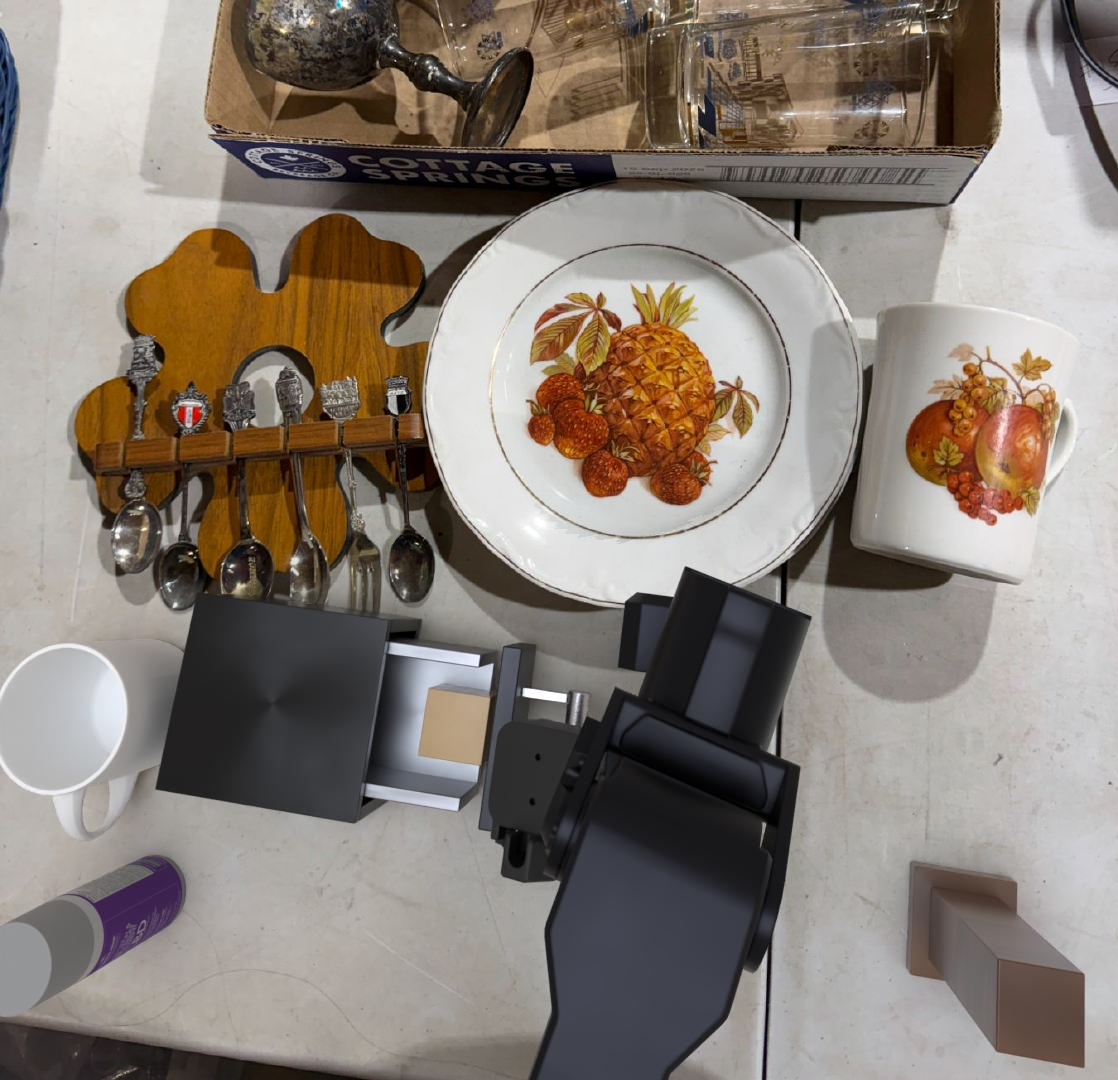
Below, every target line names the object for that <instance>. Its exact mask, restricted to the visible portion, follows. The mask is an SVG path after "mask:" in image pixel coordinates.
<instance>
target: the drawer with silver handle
mask: <svg viewBox="0 0 1118 1080" xmlns="http://www.w3.org/2000/svg"><path fill="white" fill-rule="evenodd" d="M498 653H499V651H498V650H497V649H490V648H484V647H477V646H470V645H462V644H455V643H449V642H441V641H434V640H430V639H429V640H427V639H423V638H422V639H421V638H419V639H415V638H408V637H401V636H394V635H389V641H388V648H387V654H386V660H385V666H384V672H383V678H382V684H381V690H380V696H379V702H378V708H377V714H376V720H375V726H374V733H373V739H372V745H371V751H370V757H369V763H368V769H367V775H366V781H365V787H364V793H363V797H369V798H375V799H381V800H387V801H388V802H394V803H400V804H406V805H412V806H417V807H422V808H423V807H424V808H430V809H435V810H440V811H441V810H442V811H447V812H453V813H459V812H460V811H462V809H463V808H464V807H466V806H467V805H468V804H469V803H470V802H471V801H472V800H473V799H474V798H475V797H476V796H477V795H478V794H479V791H480V784H481V777H482V769H483V765H481V766H478V765H472V764H466V763H460V762H454V761H447V760H441V759H435V758H429V757H423V756H418V752H419V745H420V739H421V733H422V726H423V720H424V713H425V707H426V700H427V694H428V688H430V687H433V686H437V685H440V684H450V685H456V686H463V687H469V688H476V689H483V690H489V691H494V684H495V676H496V668H497V661H498ZM536 653H537V644H535V643H527V642H521V641H520V642H516V643H511V644H507V645H503V646H502V652H501V658H500V666H499V674H498V680H497V688H496V692H497V694H496V702H495V709H494V716H493V723H492V731H491V738H490V745H489V752H488V760H487V761H486V767H485V768H486V769H485V775H484V783H483V790H482V797H481V803H480V804H481V805H480V811H479V818H478V825H477V828H478V830H479V831H484V832H490V833H491V831H492V823H493V819H492V817H491V815H490V813H489V808H488V800H489V792H490V784H491V777H492V770H493V763H494V755H495V748H496V741H497V736H498V733H499V731H500V729H501V728H502V727H503V726H504V725H505V724H506V723H508V722H511V721H521V720H528V716H529V707H530V700H531V699H533V700H537V701H545V702H552V703H558V704H564V705H565V704H566V710H565V719H564V723H566V724H571V725H576V726H581V727H582V726H583V723H584V721H585V718H586V716H589V714H590V709H591V708H590V705H591V697H592V693H590V692H589V691H584V690H578V689H569V690H568V692H564V691H557V690H551V689H545V688H537V687H532V685H533V677H534V668H535V661H536ZM589 717H590V716H589Z"/></svg>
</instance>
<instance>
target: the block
mask: <svg viewBox="0 0 1118 1080" xmlns="http://www.w3.org/2000/svg"><path fill="white" fill-rule="evenodd" d="M496 694H497V690H496V691H495V690H493V691H489V690H483V689H476V688H469V687H463V686H456V685H450V684H440V685H437V686H433V687H430V688H428V694H427V700H426V707H425V713H424V720H423V726H422V733H421V739H420V745H419V752H418V756H423V757H429V758H435V759H441V760H447V761H454V762H460V763H466V764H472V765H478V766H481V765H482V766H483V765H484V764H485V763H487V760H488V752H489V745H490V738H491V731H492V723H493V716H494V709H495V702H496Z"/></svg>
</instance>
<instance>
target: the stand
mask: <svg viewBox="0 0 1118 1080" xmlns="http://www.w3.org/2000/svg"><path fill="white" fill-rule="evenodd" d="M909 869H910V870H909V890H908V891H909V892H908V916H907V917H908V919H907V940H906V943H907V945H906V966H905V967H906V971H908V973H909V974H910V976H913V977H914V976H915V977H920V978H925V979H931V980H936V981H942V982H945V984H947V986H948V988H949V989H950V990H951V992H952V993H953V994H954V996H955V997H956V998H957V1000H958V1001H959V1002H960V1004H961V1005H962V1007H963V1008H964V1010H965V1011H966V1012H967V1014H968V1015H969V1017H970V1018H971V1019H972V1021H973V1022H974V1023H975V1024H976V1026H977V1027H978V1029H979V1030H980V1031H981V1033H982V1034H983V1035H984V1037H985V1038H986V1039H987V1041H988V1042H989V1044H990V1045H991V1046H992V1048H993V1049H994V1051H995V1052H996V1053H998V1054H1004V1055H1011V1056H1015V1057H1020V1058H1026V1059H1031V1060H1036V1061H1043V1062H1047V1063H1052V1064H1059V1065H1063V1066H1068V1067H1074V1068H1080V1069H1085V1067H1086V975H1085V973H1084V972H1083V971H1082V970H1081V969H1080V968H1079V967H1078V966H1077V965H1076V964H1074V963H1072V961H1071V960H1069V959H1068V958H1067V957H1066V956H1065V955H1064V954H1063V953H1061V952H1060V951H1059V949H1057V948H1056V947H1055V946H1054V945H1053V944H1051V943H1050V942H1049V941H1048V940H1047V939H1046V938H1045V937H1044V936H1043V935H1042V934H1040V933H1039V932H1038V931H1037V930H1036V929H1035V928H1034V927H1033V926H1031V925H1030V924H1029V923H1028V922H1027V921H1026V920H1024V918H1023V917H1021V916H1020V915H1019V914H1018V882H1017V881H1016V880H1014V879H1013V878H1012V877H1010V876H1004V875H1003V876H1002V875H996V874H990V873H984V872H978V871H972V870H967V869H960V868H954V867H948V866H941V865H936V864H931V863H924V862H918V861H910V868H909Z"/></svg>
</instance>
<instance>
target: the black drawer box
mask: <svg viewBox="0 0 1118 1080" xmlns="http://www.w3.org/2000/svg"><path fill="white" fill-rule="evenodd" d="M250 595H251V594H246V595H243V593H242V594H240V593H217V592H216V593H215V592H211V593H210V592H196V595H195V598H194V605H193V609H192V612H191V613H192V614H191V618H190V622H189V627H188V631H187V632H188V633H187V637H186V642H185V646H184V651H183V652H184V655H183V660H182V665H181V670H180V674H179V679H178V684H177V688H176V693H175V698H174V703H173V707H172V712H171V717H170V721H169V726H168V731H167V736H166V740H165V745H164V750H163V754H162V759H161V764H159V769H158V772H157V778H156V782H155V789H154V790H156V791H161V792H167V793H172V794H176V795H177V794H178V795H182V796H183V795H184V796H190V797H196V798H202V799H206V800H207V799H208V800H213V801H217V802H218V801H219V802H225V803H230V804H236V805H243V806H247V807H254V808H260V809H266V810H271V811H276V812H277V811H278V812H284V813H289V814H294V815H295V814H296V815H301V816H307V817H312V818H318V819H323V820H324V819H325V820H330V821H335V822H341V823H347V824H353V825H356V824H357V823H358V822H360V821H361V820H363V819H364V818H366V817H368V816H370V815H371V814H372V813H373V812H375V811H376V810H378V809H380V808H381V807H383V806H384V805H385V804H387V803H389V801H387V800H381V799H375V798H369V797H363V793H364V787H365V781H366V775H367V769H368V763H369V757H370V751H371V745H372V739H373V733H374V726H375V720H376V714H377V708H378V702H379V696H380V690H381V684H382V678H383V672H384V666H385V660H386V654H387V648H388V641H389V635H394V636H401V637H408V638H415V639H420V634H421V628H422V622H423V619H422V618H420V617H419V618H418V617H414V616H413V617H412V616H405V615H401V614H400V615H398V614H391V613H383V612H378V611H371V610H364V609H356V608H350V607H349V608H348V607H343V606H342V607H341V606H335V605H327V604H321V603H314V604H307V603H308V602H307V603H300V602H301V601H300V602H294V601H295V600H293V599H284V598H277V597H272V596H265V595H256V594H252V595H253V596H250ZM259 596H260V597H259ZM315 604H317V605H315Z"/></svg>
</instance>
